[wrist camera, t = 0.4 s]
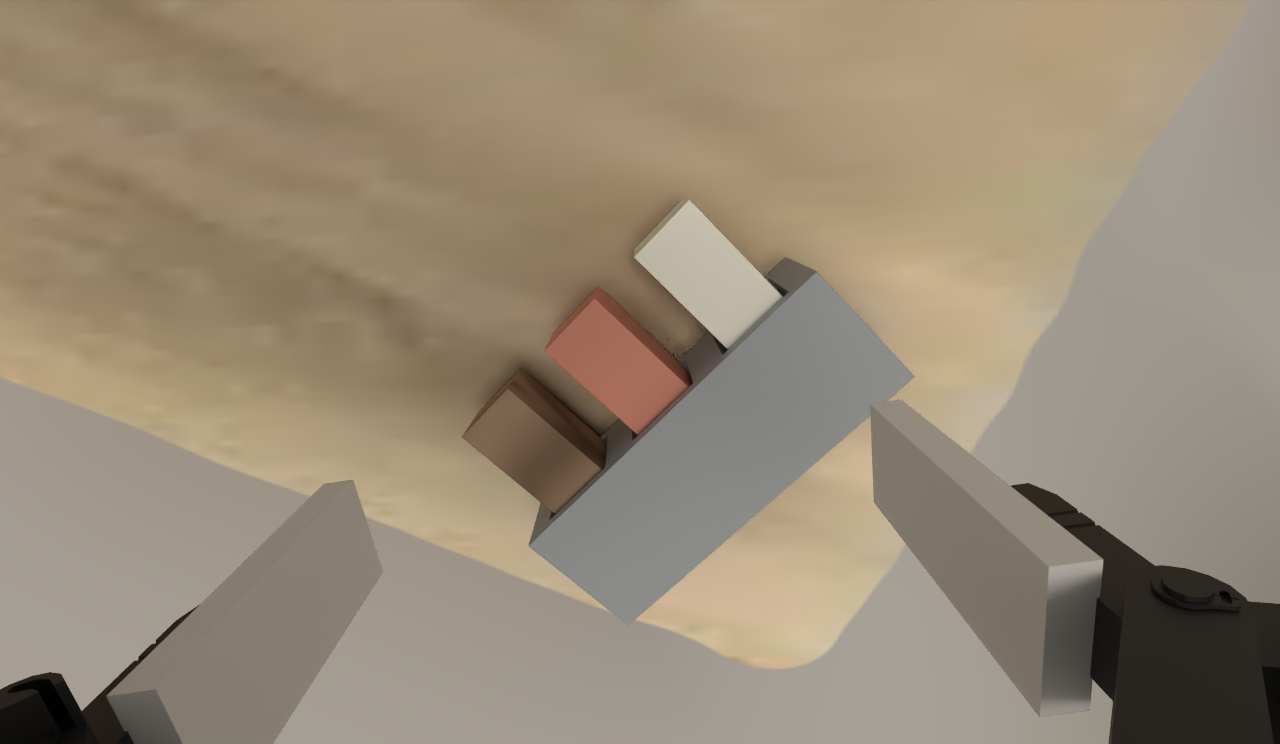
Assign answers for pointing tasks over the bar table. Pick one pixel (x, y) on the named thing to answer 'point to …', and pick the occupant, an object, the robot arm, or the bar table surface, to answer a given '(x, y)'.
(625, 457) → the socket block
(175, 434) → the bar table surface
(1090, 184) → the bar table surface
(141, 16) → the bar table surface
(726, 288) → the cream peg
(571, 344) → the brick peg
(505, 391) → the walnut peg
